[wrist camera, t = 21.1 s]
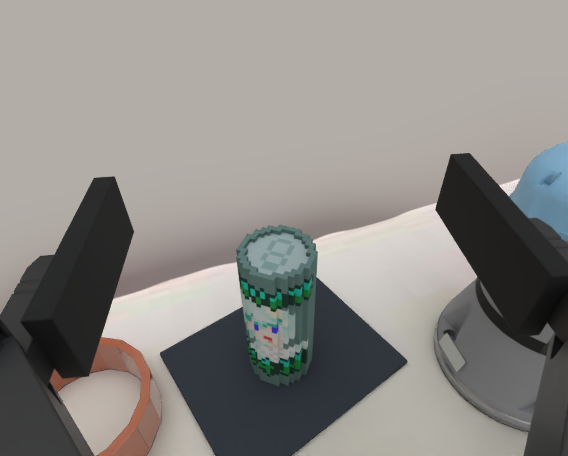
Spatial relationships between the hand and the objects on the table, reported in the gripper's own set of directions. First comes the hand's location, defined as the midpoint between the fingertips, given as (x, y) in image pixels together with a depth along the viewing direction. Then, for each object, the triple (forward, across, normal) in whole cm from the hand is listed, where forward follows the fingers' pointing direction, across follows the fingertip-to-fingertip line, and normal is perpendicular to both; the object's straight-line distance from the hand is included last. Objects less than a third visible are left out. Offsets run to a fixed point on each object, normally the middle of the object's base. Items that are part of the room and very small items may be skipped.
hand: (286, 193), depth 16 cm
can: (+10, 0, -27) cm, 29 cm away
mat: (+10, 0, -28) cm, 29 cm away
